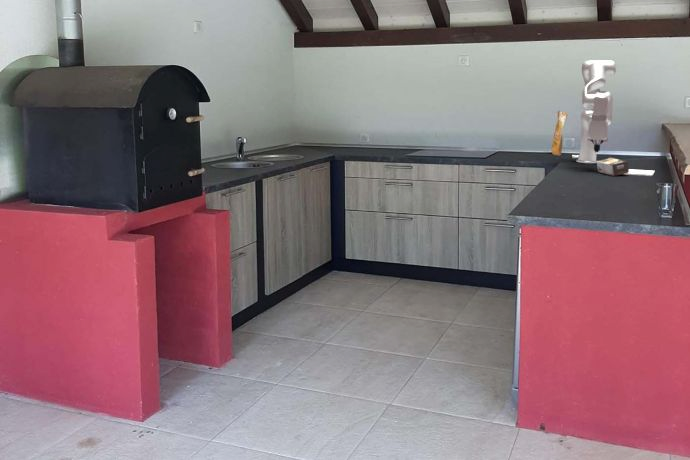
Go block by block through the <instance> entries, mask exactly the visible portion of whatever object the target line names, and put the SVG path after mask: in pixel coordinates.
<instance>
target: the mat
mask: <svg viewBox="0 0 690 460" xmlns="http://www.w3.org/2000/svg"><path fill="white" fill-rule="evenodd" d="M654 173H655V170H645V169H631V168H630V169H629V173H625V174H624V175H629V176H644V177H652V176H653V175H654Z"/></svg>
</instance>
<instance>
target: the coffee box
mask: <svg viewBox="0 0 690 460" xmlns="http://www.w3.org/2000/svg"><path fill="white" fill-rule="evenodd" d="M596 167H597V172H598V173H601V174H605V175H608V176H613V177H616V176H620V175H626V174H625V173H629V163H628V160H623V159H618V158H613V157H608V158H606V159H601V160H598V161H597V163H596Z"/></svg>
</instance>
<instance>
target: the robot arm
mask: <svg viewBox="0 0 690 460" xmlns="http://www.w3.org/2000/svg"><path fill="white" fill-rule="evenodd" d="M616 71H617V66H616V62H615V61H614V60H610V59H609V60H608V59H607V60H602V59H601V60H597V59H592V60H591V59H590V60H585V61H584V62H582V64H581V74H582V78H583V81H584V87H583V89H582V93H581V99H582V100H581V101H582V106H583V107H584V108H587V109H584V110H583V111H581V113H580V121H581V123H580V124H581V126H580V127H581V130H580V131H581V132H580V147H579V148H580V149H579V154H572V155H571V156H572V159H576V162H577V163H582V164H597V161H599V160H598V159H597V153H599V151H601V144H602V143H606V142H608V141H609V139H608V137H609V126H610V125H611V123H612V120H613V101H614V100H613V94H612V92H611V91H607V90H601V88H603V87H604V86H605V85H606V81H607V79H606V76H615V73H616Z"/></svg>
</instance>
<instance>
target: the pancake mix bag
mask: <svg viewBox="0 0 690 460" xmlns="http://www.w3.org/2000/svg"><path fill="white" fill-rule="evenodd" d="M567 118H568V113H567V112H566V111H563V110H558V111H557V118H556V125H555V129H554V133H553V138H552V146H551V155H553V156H561V155H562V151H563V130H564V126H565V122H566V120H567Z"/></svg>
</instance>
